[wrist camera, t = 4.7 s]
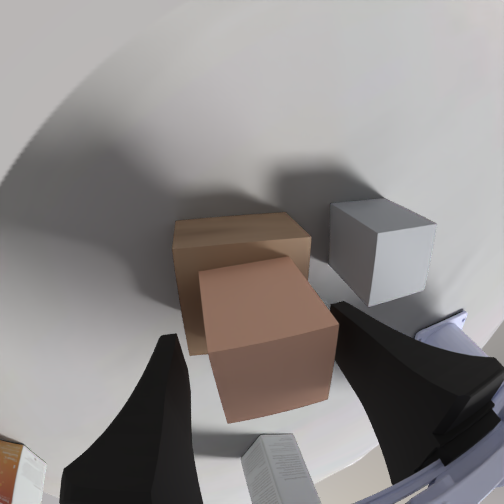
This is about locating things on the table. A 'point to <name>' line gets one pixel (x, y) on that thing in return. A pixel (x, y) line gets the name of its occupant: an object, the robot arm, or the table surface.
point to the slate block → (380, 248)
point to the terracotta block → (266, 338)
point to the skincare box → (278, 472)
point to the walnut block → (229, 256)
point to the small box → (20, 475)
